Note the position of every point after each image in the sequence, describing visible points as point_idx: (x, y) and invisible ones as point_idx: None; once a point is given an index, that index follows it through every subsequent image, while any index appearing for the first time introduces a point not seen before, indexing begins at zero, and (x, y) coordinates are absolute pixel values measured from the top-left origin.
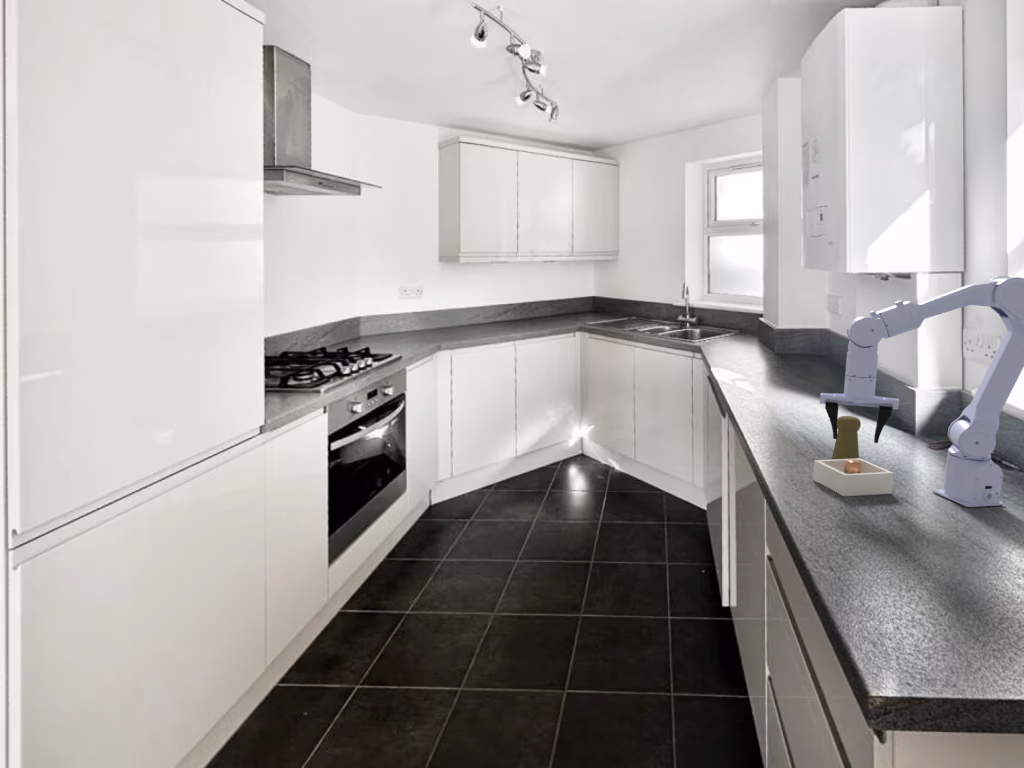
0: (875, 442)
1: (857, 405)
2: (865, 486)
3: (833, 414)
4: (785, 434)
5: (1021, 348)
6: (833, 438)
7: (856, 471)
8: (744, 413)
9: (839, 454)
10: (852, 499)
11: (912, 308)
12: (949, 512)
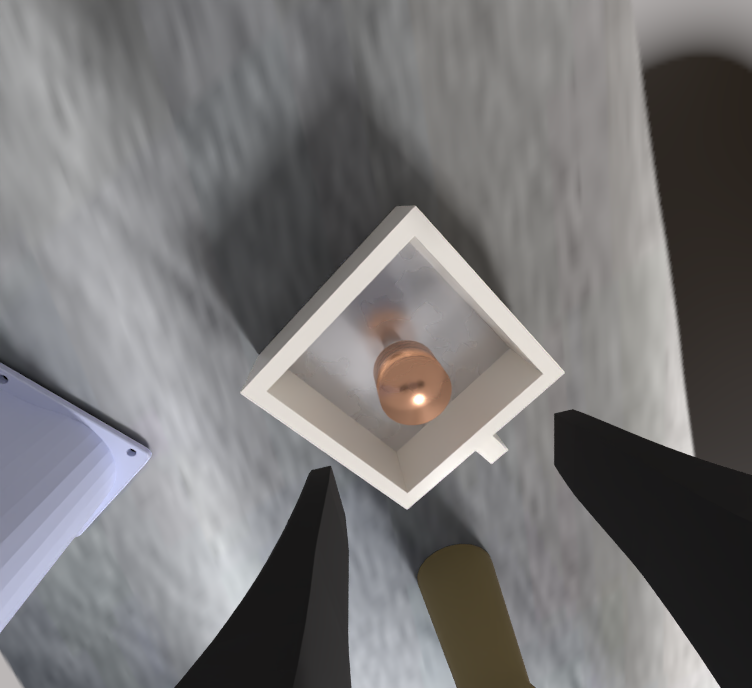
0: (323, 468)
1: None
2: (332, 282)
3: None
4: (620, 682)
5: None
6: (574, 410)
7: (387, 353)
8: None
9: (480, 575)
10: (358, 188)
11: None
12: (11, 256)
